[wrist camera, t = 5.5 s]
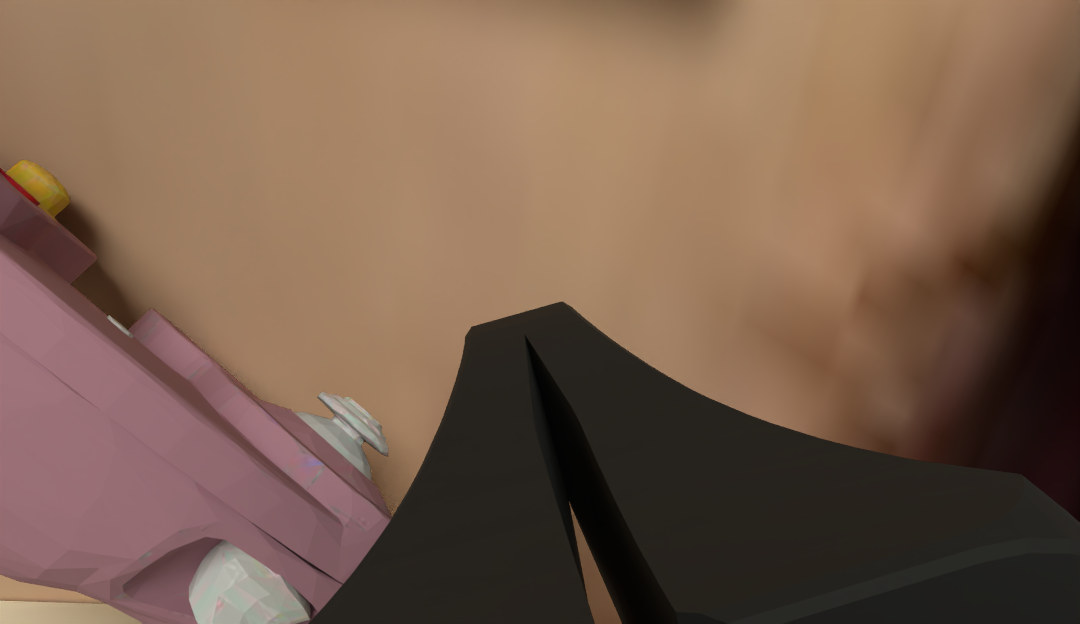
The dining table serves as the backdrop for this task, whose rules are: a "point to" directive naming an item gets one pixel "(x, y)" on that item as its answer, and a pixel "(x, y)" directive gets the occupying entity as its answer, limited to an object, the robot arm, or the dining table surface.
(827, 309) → the dining table surface
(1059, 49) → the dining table surface
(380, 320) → the dining table surface
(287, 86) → the dining table surface
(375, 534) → the video game controller
